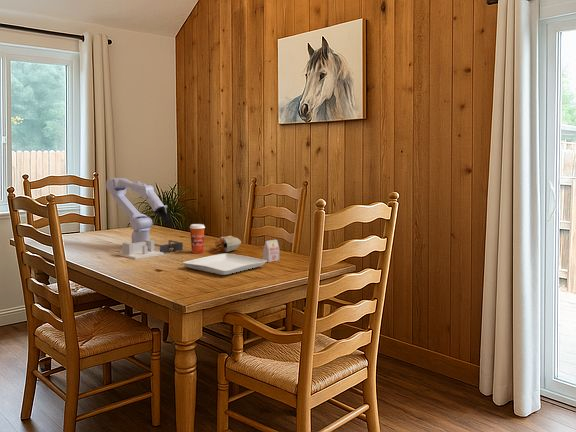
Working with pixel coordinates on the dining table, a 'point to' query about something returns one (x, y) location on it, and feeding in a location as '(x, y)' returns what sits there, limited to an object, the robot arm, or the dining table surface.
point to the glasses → (170, 246)
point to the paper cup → (197, 238)
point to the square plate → (224, 263)
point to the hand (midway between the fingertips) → (169, 223)
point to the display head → (139, 250)
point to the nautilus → (226, 244)
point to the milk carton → (271, 251)
